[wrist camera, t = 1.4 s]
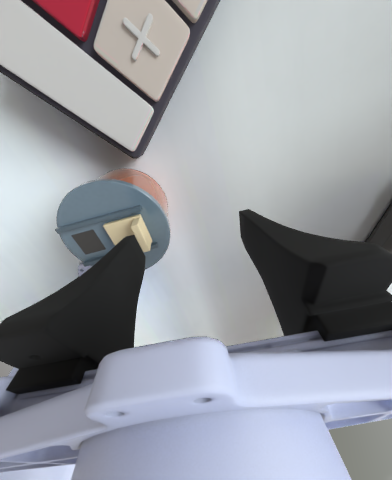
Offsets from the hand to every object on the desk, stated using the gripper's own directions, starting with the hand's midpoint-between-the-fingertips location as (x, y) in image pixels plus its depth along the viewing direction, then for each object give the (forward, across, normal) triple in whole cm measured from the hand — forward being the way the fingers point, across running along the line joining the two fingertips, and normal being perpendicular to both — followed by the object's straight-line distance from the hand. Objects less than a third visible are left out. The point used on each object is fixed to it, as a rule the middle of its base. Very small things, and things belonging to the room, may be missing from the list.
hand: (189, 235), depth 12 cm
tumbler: (+10, +7, +1) cm, 12 cm away
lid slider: (+3, +5, +1) cm, 6 cm away
